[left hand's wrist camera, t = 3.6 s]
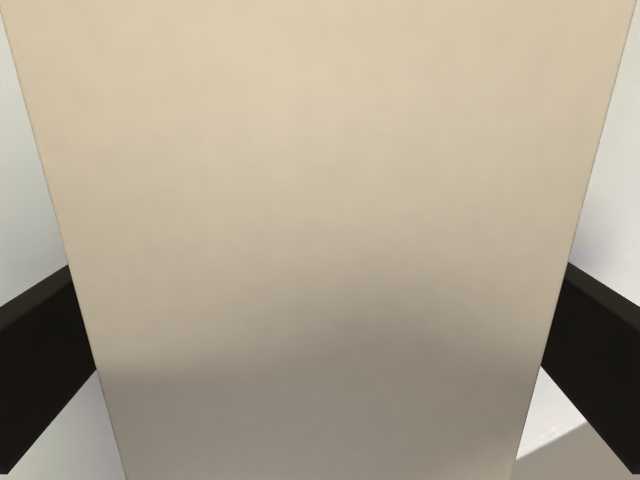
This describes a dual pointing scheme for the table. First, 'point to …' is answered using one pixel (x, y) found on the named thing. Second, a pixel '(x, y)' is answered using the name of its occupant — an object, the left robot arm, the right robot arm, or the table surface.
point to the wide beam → (317, 219)
